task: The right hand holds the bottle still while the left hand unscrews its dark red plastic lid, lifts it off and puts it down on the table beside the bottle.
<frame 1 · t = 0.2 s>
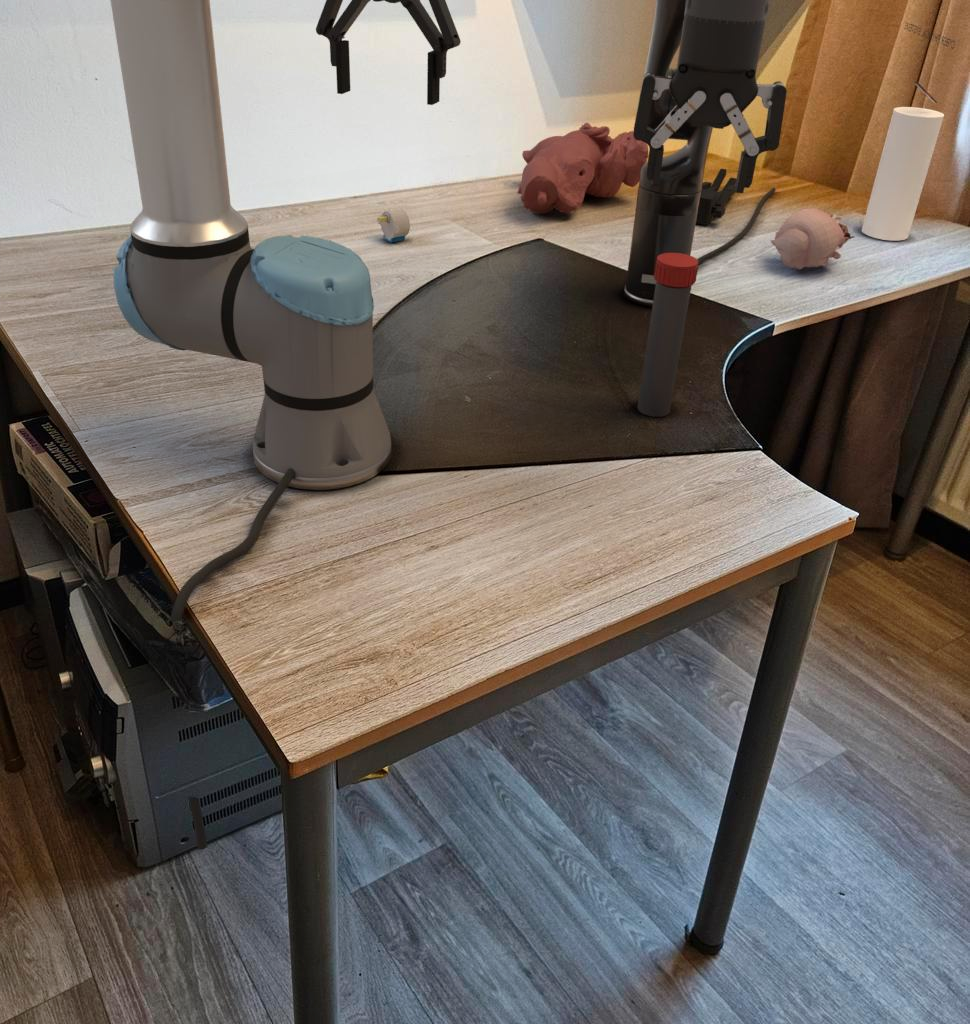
left hand: (388, 97, 135), 28 cm above the table, tool pointing down, fingers open, 13 cm apart
right hand: (696, 187, 99), 29 cm above the table, tool pointing down, fingers open, 8 cm apart
tall white tube: (880, 233, 185), on the table
electric motor: (391, 241, 169), on the table
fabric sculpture: (573, 204, 192), on the table
ceramic shard: (223, 304, 142), on the table
lid: (677, 262, 110), point 19 cm above the table, screwed on, not yet turned
black forked piece: (710, 205, 196), on the table
toy 2: (802, 265, 168), on the table
bottle: (653, 409, 121), on the table
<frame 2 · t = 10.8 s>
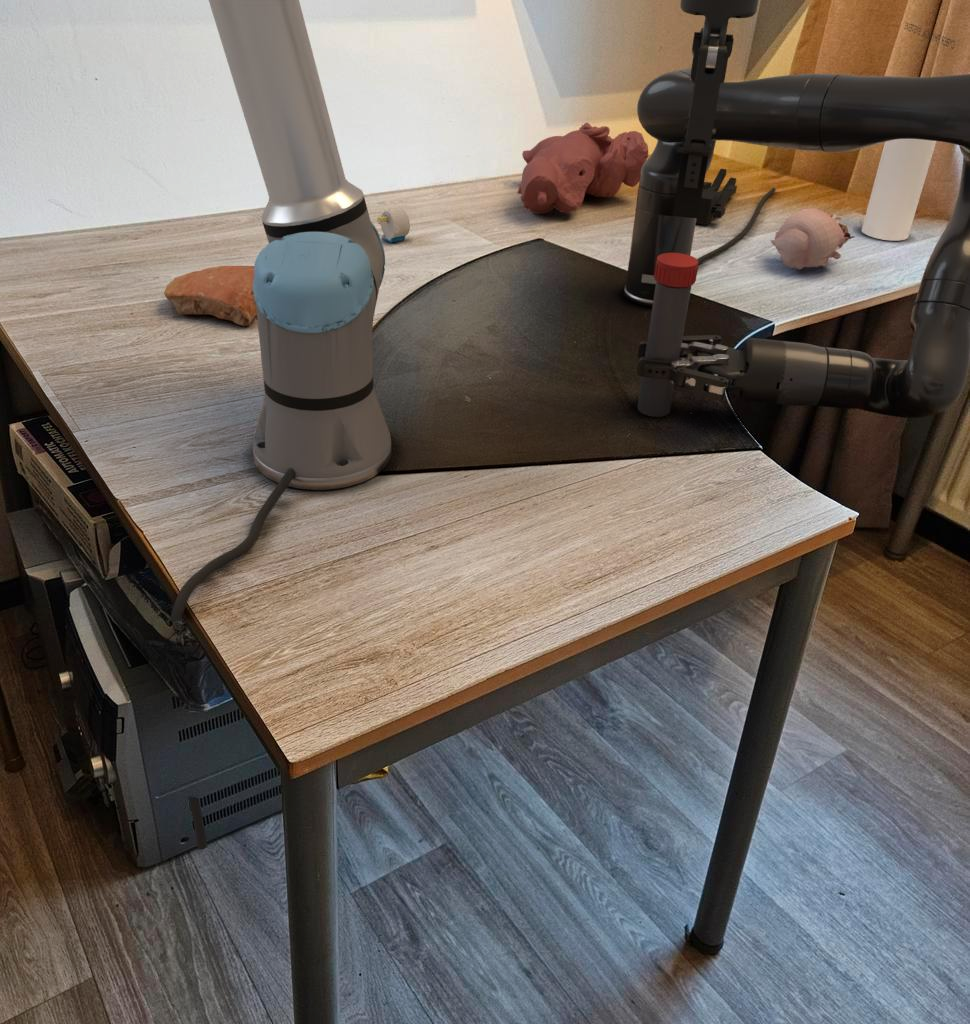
left hand: (686, 206, 106), 25 cm above the table, tool pointing down, fingers open, 7 cm apart
right hand: (638, 358, 117), 7 cm above the table, tool horizontal, fingers closed on bottle, 4 cm apart
bottle: (653, 409, 121), on the table, touching right hand
everything else where it was.
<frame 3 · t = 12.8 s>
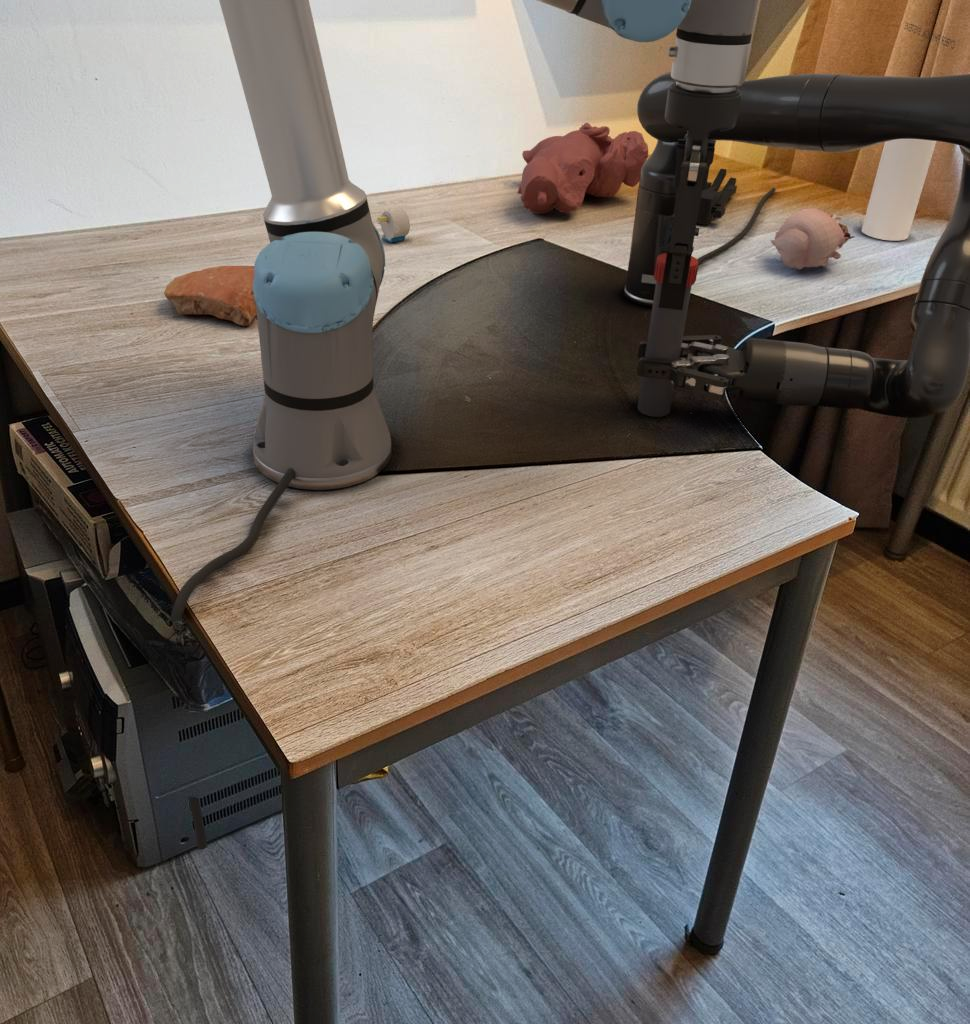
left hand: (671, 298, 113), 15 cm above the table, tool pointing down, fingers closed on lid, 5 cm apart
right hand: (638, 358, 117), 7 cm above the table, tool horizontal, fingers closed on bottle, 4 cm apart
lid: (677, 262, 110), point 19 cm above the table, screwed on, not yet turned, touching left hand
bottle: (653, 409, 121), on the table, touching right hand
everything else where it was.
when the left hand's fingers open (0 cm above the table, at t = 21.9 s): lid stays where it is, point 2 cm above the table.
when the right hand's fingers open (7 cm above the table, at t = 23.4 s): bottle stays where it is, on the table.
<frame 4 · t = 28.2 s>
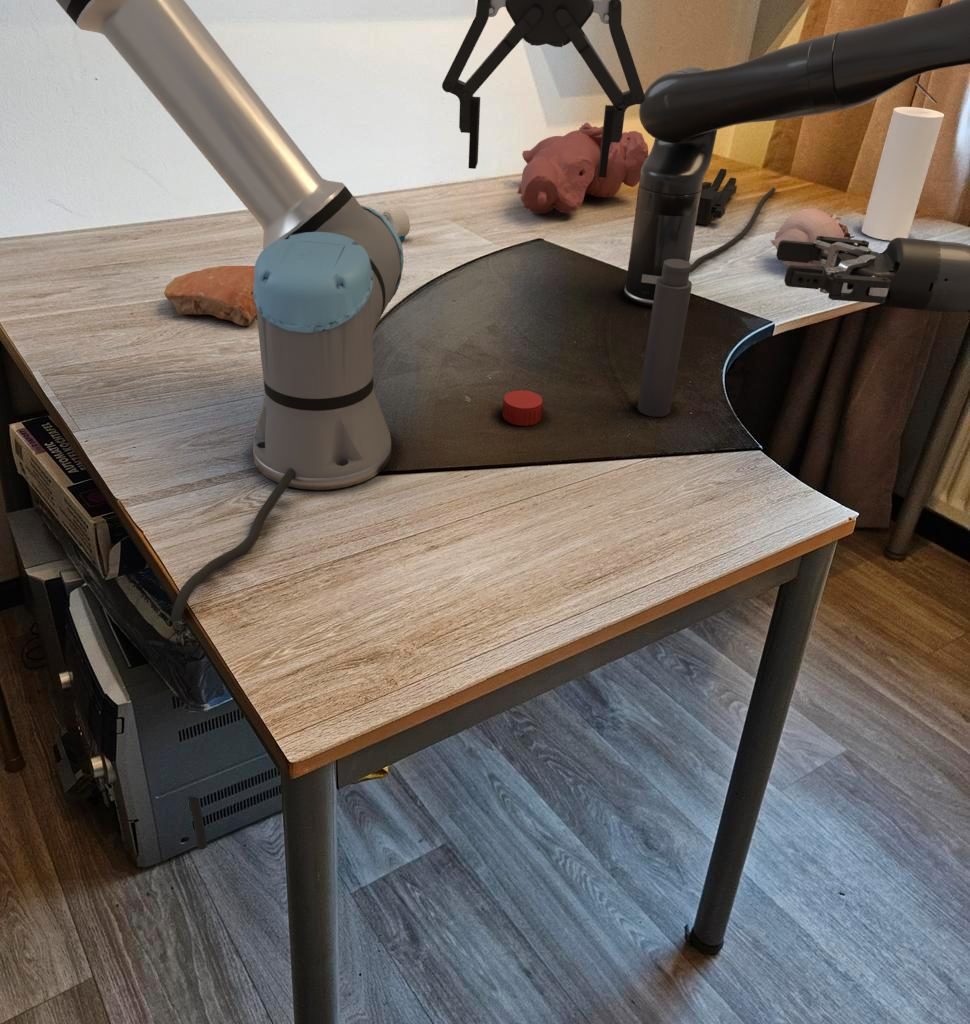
left hand: (537, 170, 101), 29 cm above the table, tool pointing down, fingers open, 13 cm apart
right hand: (781, 262, 108), 20 cm above the table, tool horizontal, fingers open, 8 cm apart
lid: (523, 401, 116), point 2 cm above the table, off its thread
bottle: (653, 409, 121), on the table
everything else where it was.
at the end: lid came off its thread; lid point 2.1 cm above the table; the left hand is holding nothing; the right hand is holding nothing; bottle tilted 0°; bottle moved 0.0 cm from its start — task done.
